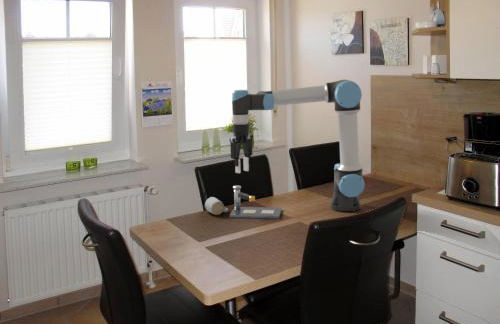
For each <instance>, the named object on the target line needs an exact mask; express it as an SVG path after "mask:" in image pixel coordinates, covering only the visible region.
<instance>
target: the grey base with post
mask: <svg viewBox="0 0 500 324" xmlns="http://www.w3.org/2000/svg"><path fill="white" fill-rule="evenodd" d="M241 188H242V186H241V185H236V184H235V185H233V186H232V189H233V192H234V193H233V197H234V198H233V200H234V201H233V203H234V208H233V209H232V210H231V212H230V214H229V218H231V219H232V218H235V219H236V218H237V219H238V218H239V219H276V220H277V219H278V220H279V219H280V216H281V213H282V211H283V210H282V207H266V206H264V207H263V206H262V207H261V206H260V207H259V206H241V198H240V197H239V196H238V193H241Z"/></svg>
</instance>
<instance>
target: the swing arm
mask: <svg viewBox="0 0 500 324" xmlns="http://www.w3.org/2000/svg"><path fill="white" fill-rule="evenodd" d="M238 196H239V197H240V199H242V200H246V201H249V202H250V203H254V202H256V196H255V195H250V194H248V193H244V192H241V191H240V193H238Z"/></svg>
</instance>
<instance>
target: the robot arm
mask: <svg viewBox="0 0 500 324" xmlns="http://www.w3.org/2000/svg"><path fill="white" fill-rule="evenodd" d="M362 95H363V94H362V89H361V88H360V86H359V84H357V82H355V81H352V80H349V79H340V80H337V81H336V80H335V81H332V82H325V83H324V84H323V85H316V86H314V85H313V86H304V87H297V88H294V87H293V88H287V89H277V90H267V91H266V90H265V91H263V90H261V91H258V92H257V93H250V92H249V91H248V89H235V90H233V91H232V93H231V105H232V109H231V110H232V123H233V125H232V131H233V137H230V138H229V143H230V159H232V160H234V161H233V162H234V167H235V168H234V169H235V171H234V172H235V173H236V174H241V171H242V170H241V159H240V153H241V148H242V151H243V157H242V158H243V161H242V162H243V163H242V164H243V171H245V172H249V171H250V170H249V169H250V165H249V164H250V158H251V157H252V156H253V136H254V135H253V134H249V131H250V124H249V122H250V116H249V115H250V114H249V111H273V110H274V109H275V107H277V106H287V105H288V106H289V105H298V104H299V105H300V104H307V103H318V102H319V103H320V102H325V103H326V104H330V103H334V112H335V113H336V114H337V116H338V117H337V118H338V135H339V136H338V138H339V139H338V140H339V142H338V143H339V160H340V162H339V163H336V164H334V168H333V170H334V171H333V174H334V176H333V178H334V179H333V185H334V186H333V195H332V197H331V201H330V203H329V204H330V209H331V208H332V209H331V210H333V209H334V210H333V211H335V210H339V211H338V212H340V211H354V210H358V209H360V208H361V209H362V207H361V206H362V203H361V200H360V197H359V195H361V194H362V193H363V191H364V189H365V180H364V177H363V166H362V165H361V164H360V162H359V160H360V158H359V156H360V155H359V131H358V130H359V128H358V112H360V111H361V100H362ZM361 209H360V210H361ZM358 211H359V210H358ZM354 212H355V211H354Z"/></svg>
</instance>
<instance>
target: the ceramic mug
mask: <svg viewBox="0 0 500 324" xmlns="http://www.w3.org/2000/svg"><path fill="white" fill-rule="evenodd" d="M204 209H205V210H206V211H207V212H208V213H211V214H213V215H214V216H219V215H221V214H223V213H228V211H229V209H228V208H227V207H225V205H224V203H223V202H222V201H221V200H219V199H218V198H216V197H214V196H210V197H209V198H207V199H206V201H205V203H204Z"/></svg>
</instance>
